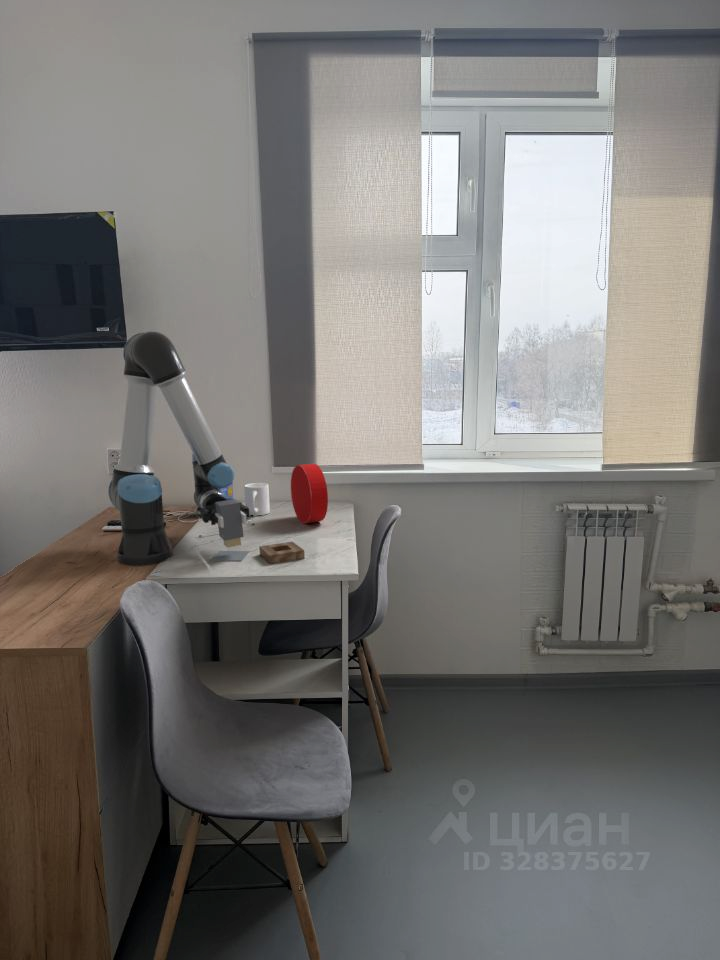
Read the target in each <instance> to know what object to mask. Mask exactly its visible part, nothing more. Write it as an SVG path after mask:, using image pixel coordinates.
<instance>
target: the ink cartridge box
mask: <svg viewBox="0 0 720 960" xmlns="http://www.w3.org/2000/svg"><path fill="white" fill-rule="evenodd" d="M233 484H234V483H233V482H232V483H231V484H230V485H229V486H228V487H225V488H219V492H220V494H222V495H223V496H224V497H225V498H227V500H231V499H234V485H233Z"/></svg>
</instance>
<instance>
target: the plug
mask: <svg viewBox="0 0 720 960" xmlns="http://www.w3.org/2000/svg"><path fill="white" fill-rule="evenodd" d="M239 502H240V501H238V500H237V499H236V498H233V499H231V500H226V501H220V502H215V505H216V512H217V513H218V514H219V515H220V516H222V517H223V522H224V527H223V528H221V527H220V526H219V525H218V524H217V525H218V535H219V537H220V538H221V539H222V540H223V545H224V546H225V547H226V548H227V549H228V548H233V547H237V546H238V547H239V546H242V540H241V538H244V537H245V536H244V529H243V523H242V519H241V510H240V503H239Z"/></svg>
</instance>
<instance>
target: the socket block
mask: <svg viewBox="0 0 720 960" xmlns="http://www.w3.org/2000/svg"><path fill="white" fill-rule="evenodd" d="M259 555H260V556H261V557H262V558H263V560H265V561H266V562H267V563H268V564H269V565H273V564H281V563H287V562H293V561H298V560H304V559H305V558H306V557H305V550H304V549H303V548H302V547H301V546H299V545H298V544H297V543H295V542H293V541H288V542H281V543H273V544H267V545H260V546H259Z"/></svg>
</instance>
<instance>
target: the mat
mask: <svg viewBox="0 0 720 960" xmlns="http://www.w3.org/2000/svg"><path fill="white" fill-rule="evenodd" d="M249 553H250V550H218V552H216V554H215V555H213V556H212V557H211V559H209V562H243V560H244V559H245V558H246V557H247V556H248V554H249Z"/></svg>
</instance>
